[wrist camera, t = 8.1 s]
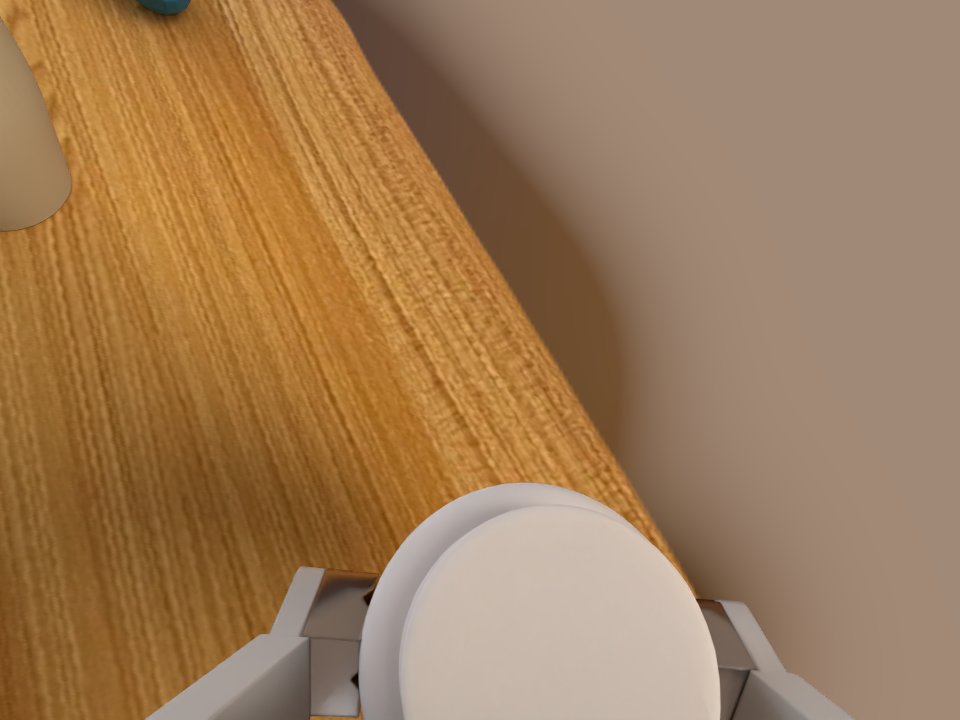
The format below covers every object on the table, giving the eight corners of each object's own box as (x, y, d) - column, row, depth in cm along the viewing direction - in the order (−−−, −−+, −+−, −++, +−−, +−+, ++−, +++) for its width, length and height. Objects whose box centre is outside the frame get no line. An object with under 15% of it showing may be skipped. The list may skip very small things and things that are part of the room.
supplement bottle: (513, 499, 18) (603, 374, 8) (623, 664, 16) (890, 742, 7) (356, 603, 16) (248, 596, 7) (459, 800, 14) (506, 1158, 5)
